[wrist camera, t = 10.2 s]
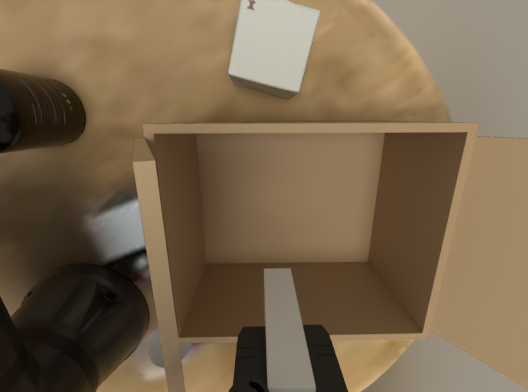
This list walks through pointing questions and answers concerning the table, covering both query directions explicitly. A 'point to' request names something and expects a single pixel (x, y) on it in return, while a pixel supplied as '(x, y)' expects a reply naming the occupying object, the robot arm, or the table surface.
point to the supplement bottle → (36, 112)
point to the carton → (309, 221)
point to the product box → (272, 45)
